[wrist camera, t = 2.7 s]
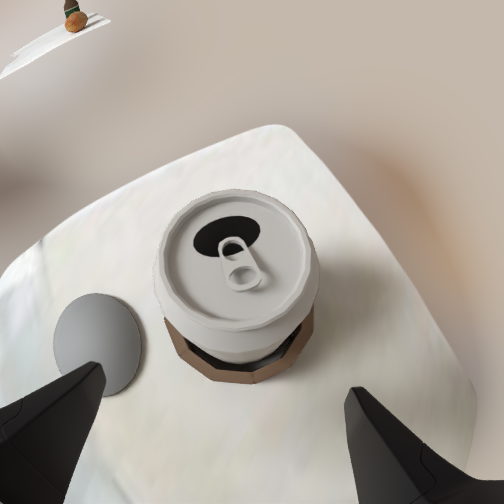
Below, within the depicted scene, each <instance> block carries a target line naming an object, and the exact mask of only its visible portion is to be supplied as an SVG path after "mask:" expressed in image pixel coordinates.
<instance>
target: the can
mask: <svg viewBox="0 0 504 504" xmlns="http://www.w3.org/2000/svg"><path fill="white" fill-rule="evenodd" d="M153 281H154V293H155V295H156V298H157V300H158V302H159V305H160V307H161V309H162V312H163V314H164V316H165V317H166V318H167V319H168V320H169V322H170V323H171V324H172V325H173V326H174V327H175V328H176V329H177V330H178V331H179V332H180V333H181V334H182V335H183V336H184V337H185V338H187V339H188V340H189V341H191V342H192V343H194V344H195V345H196V346H198V347H199V348H201V349H202V350H204V351H205V352H206V353H208V354H209V355H211V356H213V357H215V358H217V359H219V360H221V361H223V362H225V363H232V364H240V365H242V364H248V363H253V362H258V361H260V360H261V359H263V358H265V357H267V356H269V355H271V354H272V353H273V352H274V351H275V350H276V349H277V348H278V347H279V346H280V345H281V344H282V343H283V341H284V340H285V339H286V338H287V337H288V336H289V335H290V334H291V333H292V332H293V331H294V330H295V329H296V327H297V326H298V325H299V324H300V323H301V322H302V321H303V319H304V318H305V317H306V316H307V315H308V314H309V312H310V309H311V307H312V304H313V302H314V299H315V297H316V294H317V292H318V289H319V261H318V258H317V255H316V251H315V248H314V245H313V242H312V240H311V239H310V237H309V236H308V233H307V230H306V228H305V227H304V226H303V224H302V223H301V221H300V220H299V219H298V217H297V216H296V215H295V213H294V212H293V211H292V210H290V209H289V208H288V207H286V206H285V205H284V204H282V203H281V202H280V201H278V200H277V199H275V198H272V197H270V196H267V195H265V194H262V193H259V192H257V191H250V190H240V189H230V190H223V191H217V192H212V193H209V194H207V195H205V196H202V197H200V198H198V199H195V200H193V201H191V202H190V203H189V204H188V205H187V206H185V207H184V208H183V209H182V210H180V211H179V212H178V213H177V214H175V216H174V217H173V219H172V220H171V222H170V223H169V224H168V226H167V227H166V229H165V230H164V232H163V234H162V238H161V241H160V244H159V247H158V251H157V254H156V258H155V262H154V265H153Z"/></svg>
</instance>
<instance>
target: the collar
mask: <svg viewBox="0 0 504 504" xmlns="http://www.w3.org/2000/svg"><path fill="white" fill-rule="evenodd" d="M164 320H165V321H164V322H165V324H166V327H167V329H168V332H169V334H170V337H171V339H172V342H173V344H174V347H175V349H176V351H177V354H178V356H180V358H181V359H183V360H184V361H185V362H187V363H188V364H189V365H191V366H192V367H193V368H195V369H196V370H198V371H199V372H200V373H202V374H203V375H204V376H206V377H207V378H209V379H210V380H213V381H218V382H229V383H240V384H253V383H254V384H256V383H259V382H261V381H263V380H265V379H267V378H269V377H271V376H273V375H275V374H277V373H279V372H281V371H283V370H285V369H287V368H289V367H291V365H293V364H294V362H295V360H296V359H297V357H298V356H299V354H300V353H301V351H302V349H303V348H304V346H305V345H306V343H307V341H308V340H309V338H310V336H311V335H312V333H313V332H312V331H313V304H312V307H311V309H310V312H309V314H308V315H307V316H306V317H305V318H304V319H303V321H302V322H301V323H300V324H299V325H298V326H297V327H296V329H295V335H294V337H293V339H292V340H291V342H290V343H289V345H288V346H287V348H286V349H285V351H284V352H283V354H282V356H281V357H280V359H278V360H276V361H274V362H272V363H270V364H268V365H266V366H264V367H262V368H260V369H258V370H256V371H254V372H239V371H227V370H219V369H217V368H216V367H214V366H213V365H211V364H210V363H209V362H207V361H206V360H204V359H203V358H202V357H200V356H199V355H198V354H196V352H195V350H194V348H193V346H192V343H191V341H189V340H188V339H187V338H185V337H184V336H183V335H182V334H181V333H180V332H179V331H178V330H177V329H176V328H175V327H174V326H173V325H172V324H171V323H170V322H169V320H168V319H167V318H166V317H165V316H164Z"/></svg>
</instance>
